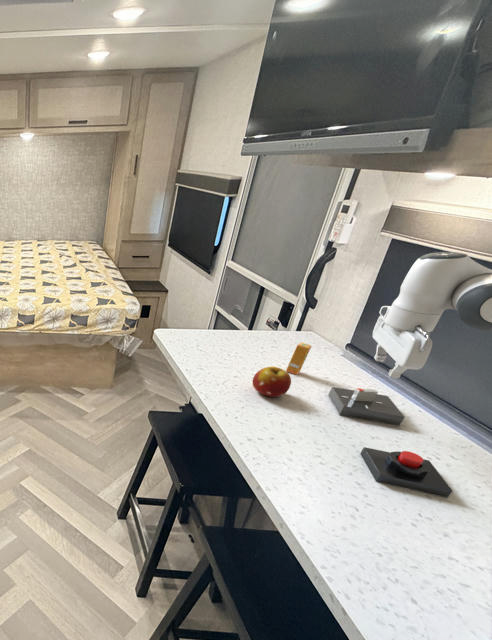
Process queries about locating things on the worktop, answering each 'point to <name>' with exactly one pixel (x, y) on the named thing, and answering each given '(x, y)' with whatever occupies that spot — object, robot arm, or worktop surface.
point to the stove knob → (364, 395)
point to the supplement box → (298, 358)
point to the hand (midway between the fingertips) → (385, 368)
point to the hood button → (410, 459)
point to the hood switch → (404, 473)
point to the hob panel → (366, 407)
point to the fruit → (272, 381)
